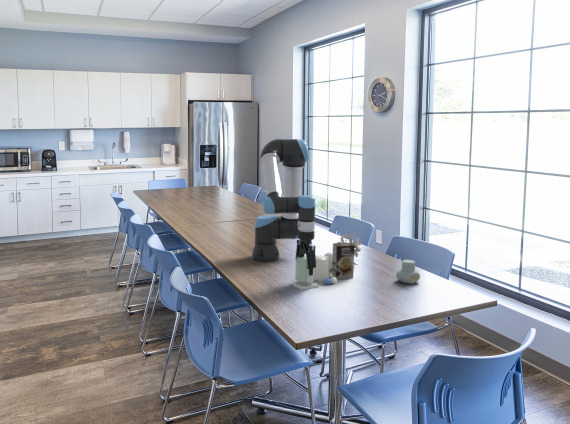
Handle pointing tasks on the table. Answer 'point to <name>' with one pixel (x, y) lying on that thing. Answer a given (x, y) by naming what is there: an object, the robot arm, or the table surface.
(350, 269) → the coffee box
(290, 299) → the table surface
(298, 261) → the sage green dome
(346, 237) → the flower vase
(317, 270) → the cream cup
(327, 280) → the marble
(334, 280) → the marble
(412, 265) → the air freshener
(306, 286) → the coaster
